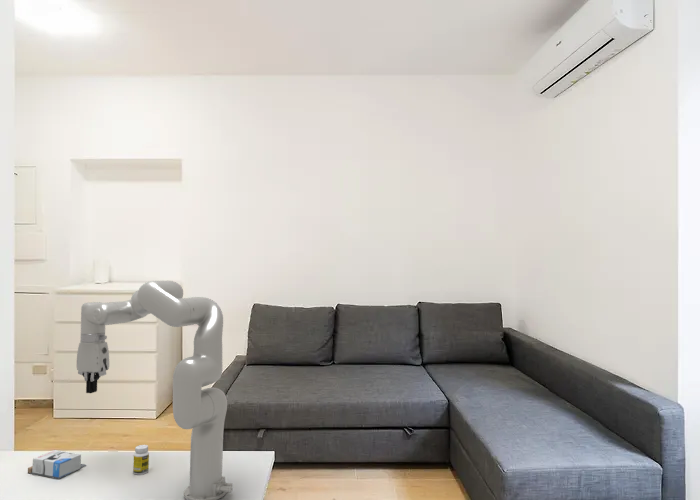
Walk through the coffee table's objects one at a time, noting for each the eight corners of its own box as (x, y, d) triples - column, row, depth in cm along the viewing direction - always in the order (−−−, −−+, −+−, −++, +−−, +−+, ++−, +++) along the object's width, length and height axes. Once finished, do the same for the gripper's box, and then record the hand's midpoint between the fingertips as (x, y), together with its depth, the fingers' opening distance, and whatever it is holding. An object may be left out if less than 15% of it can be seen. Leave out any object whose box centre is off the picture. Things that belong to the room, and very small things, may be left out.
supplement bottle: (142, 475, 162) (143, 449, 162) (129, 474, 163) (130, 448, 163) (151, 470, 166) (152, 444, 167) (138, 468, 167) (139, 443, 168)
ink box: (59, 462, 158) (32, 458, 161) (59, 478, 158) (31, 473, 161) (81, 453, 166) (54, 449, 170) (81, 468, 166) (54, 463, 169)
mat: (86, 465, 169) (86, 460, 169) (59, 478, 158) (59, 473, 158) (55, 461, 173) (56, 455, 173) (27, 473, 162) (27, 467, 162)
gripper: (118, 337, 171) (117, 391, 170) (83, 336, 175) (82, 388, 174) (102, 340, 164) (101, 396, 163) (66, 339, 168) (64, 393, 167)
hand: (91, 392), depth 169 cm, fingers closed
